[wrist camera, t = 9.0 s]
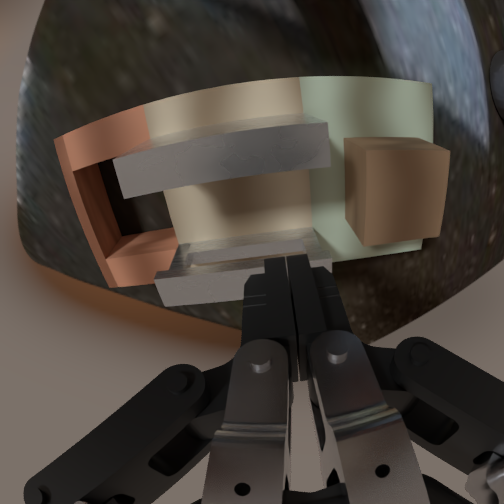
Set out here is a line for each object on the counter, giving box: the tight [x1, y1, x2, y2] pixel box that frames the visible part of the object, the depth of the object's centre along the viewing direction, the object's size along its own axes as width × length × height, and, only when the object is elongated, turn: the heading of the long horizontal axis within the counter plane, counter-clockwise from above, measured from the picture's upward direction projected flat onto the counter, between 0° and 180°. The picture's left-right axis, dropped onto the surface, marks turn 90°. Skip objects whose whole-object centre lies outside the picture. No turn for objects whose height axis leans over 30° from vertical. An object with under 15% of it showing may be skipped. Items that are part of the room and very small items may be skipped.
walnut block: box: [343, 137, 450, 247], centre depth 16 cm, size 6×6×4 cm
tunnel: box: [113, 113, 332, 306], centre depth 16 cm, size 10×9×6 cm
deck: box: [54, 76, 433, 288], centre depth 20 cm, size 28×14×4 cm, turn 98°
